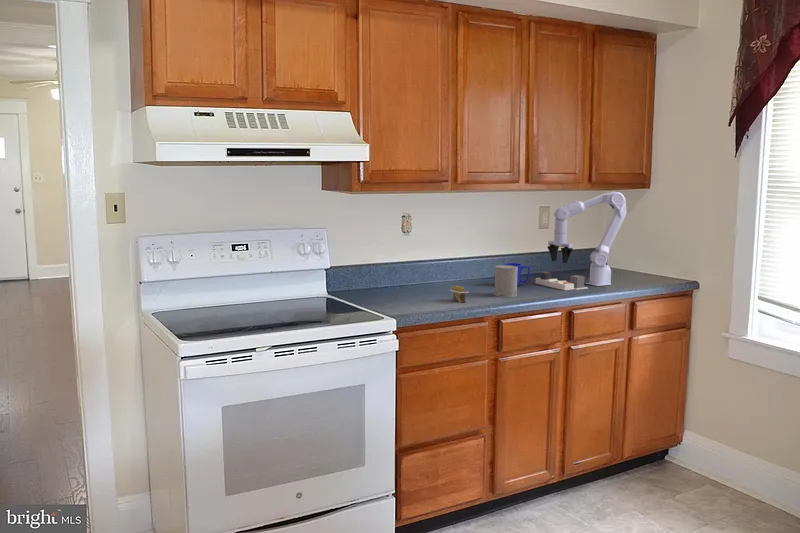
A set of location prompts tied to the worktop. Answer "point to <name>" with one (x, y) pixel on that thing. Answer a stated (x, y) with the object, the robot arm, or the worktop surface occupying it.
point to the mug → (519, 271)
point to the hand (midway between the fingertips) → (559, 261)
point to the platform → (459, 293)
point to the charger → (577, 281)
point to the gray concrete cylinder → (506, 280)
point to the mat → (580, 288)
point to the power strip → (553, 282)
